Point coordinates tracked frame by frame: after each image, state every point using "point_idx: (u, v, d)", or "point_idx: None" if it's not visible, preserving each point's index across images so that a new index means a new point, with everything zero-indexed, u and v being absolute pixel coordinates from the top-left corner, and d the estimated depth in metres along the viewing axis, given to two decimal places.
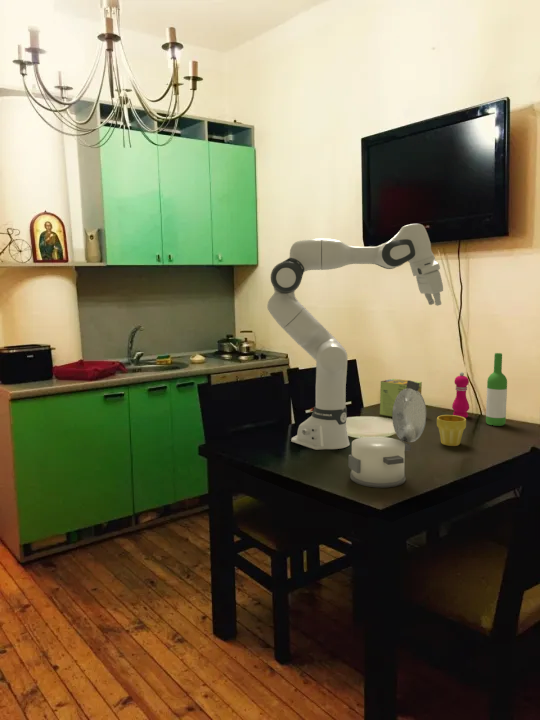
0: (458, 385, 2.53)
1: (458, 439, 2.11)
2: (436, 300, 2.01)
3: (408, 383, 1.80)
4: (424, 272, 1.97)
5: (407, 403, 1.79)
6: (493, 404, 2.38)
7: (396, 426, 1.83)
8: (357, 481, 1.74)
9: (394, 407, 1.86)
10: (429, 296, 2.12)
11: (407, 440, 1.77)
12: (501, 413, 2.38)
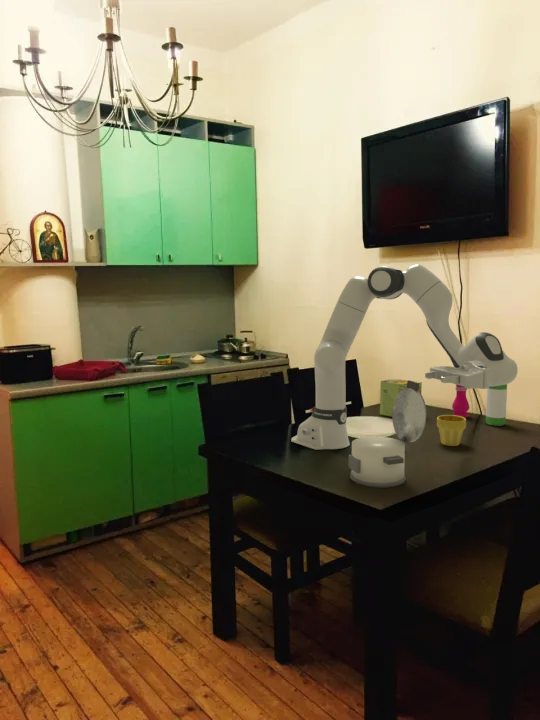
0: (458, 385, 2.53)
1: (458, 439, 2.11)
2: (449, 378, 1.76)
3: (408, 383, 1.80)
4: (486, 371, 1.76)
5: (407, 403, 1.79)
6: (493, 404, 2.38)
7: (396, 426, 1.83)
8: (357, 481, 1.74)
9: (394, 407, 1.86)
10: (433, 375, 1.86)
11: (407, 440, 1.77)
12: (501, 413, 2.38)
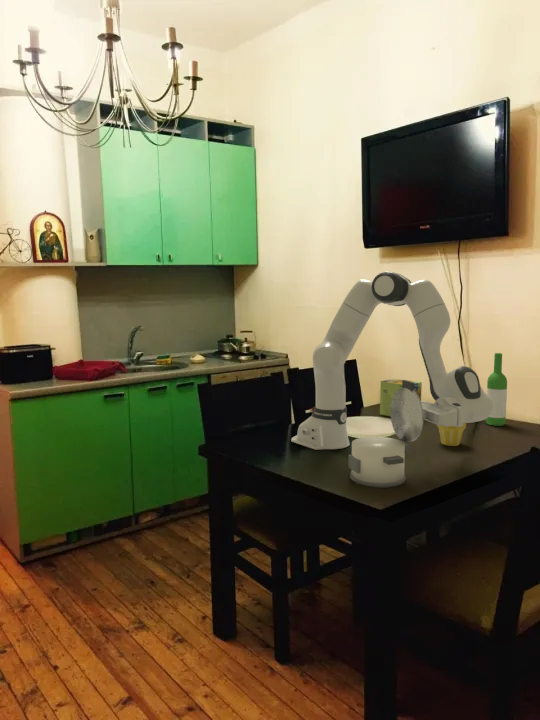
0: None
1: (458, 439, 2.11)
2: None
3: (403, 383, 1.79)
4: (460, 409, 1.75)
5: (404, 402, 1.78)
6: (493, 404, 2.38)
7: (395, 425, 1.83)
8: (357, 481, 1.74)
9: (392, 407, 1.86)
10: None
11: (407, 440, 1.77)
12: (501, 413, 2.38)
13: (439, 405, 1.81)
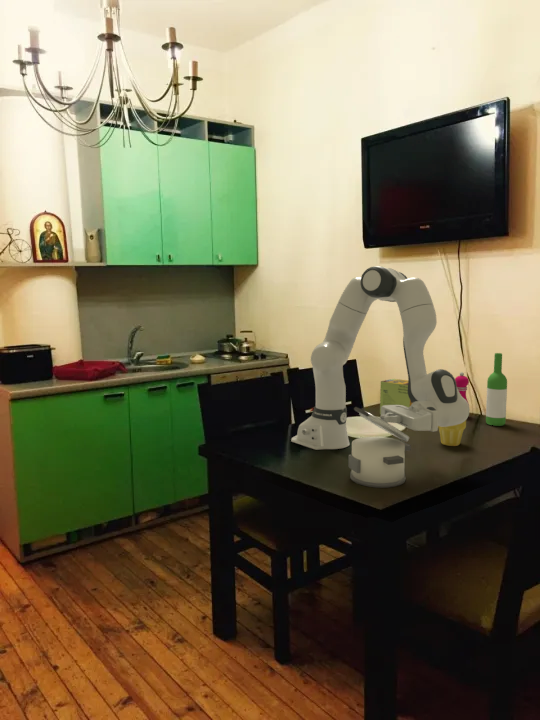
0: (458, 385, 2.53)
1: (458, 439, 2.11)
2: (390, 417, 1.75)
3: None
4: (434, 413, 1.72)
5: (373, 422, 1.76)
6: (493, 404, 2.38)
7: None
8: (357, 481, 1.74)
9: None
10: None
11: None
12: (501, 413, 2.38)
13: (414, 409, 1.78)
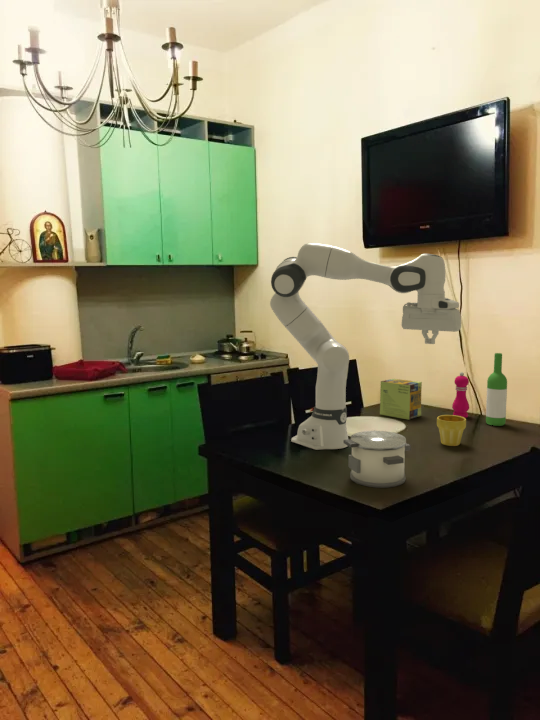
0: (458, 385, 2.53)
1: (458, 439, 2.11)
2: (433, 338, 1.94)
3: None
4: (451, 307, 1.86)
5: None
6: (493, 404, 2.38)
7: None
8: (357, 481, 1.74)
9: None
10: (426, 334, 1.96)
11: None
12: (501, 413, 2.38)
13: (430, 313, 1.91)
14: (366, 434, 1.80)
